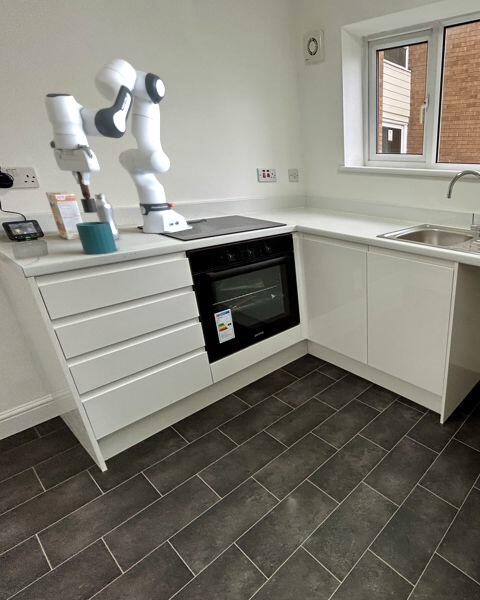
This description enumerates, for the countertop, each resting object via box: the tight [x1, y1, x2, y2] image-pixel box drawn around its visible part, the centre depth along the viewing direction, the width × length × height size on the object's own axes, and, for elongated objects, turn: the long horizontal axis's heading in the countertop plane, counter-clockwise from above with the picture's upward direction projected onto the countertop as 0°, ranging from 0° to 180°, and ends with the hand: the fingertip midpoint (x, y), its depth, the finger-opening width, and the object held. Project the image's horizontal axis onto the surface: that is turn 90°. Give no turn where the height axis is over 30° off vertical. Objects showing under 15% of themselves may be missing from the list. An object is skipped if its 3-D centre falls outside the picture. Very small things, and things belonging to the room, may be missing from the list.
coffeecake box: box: [45, 191, 84, 241], centre depth 159 cm, size 15×7×20 cm, turn 53°
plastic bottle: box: [94, 193, 121, 241], centre depth 155 cm, size 6×7×20 cm
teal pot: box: [76, 221, 118, 255], centre depth 137 cm, size 10×10×11 cm
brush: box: [76, 171, 98, 214], centre depth 131 cm, size 4×4×16 cm
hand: (83, 184), depth 131 cm, fingers closed on brush, 2 cm apart
